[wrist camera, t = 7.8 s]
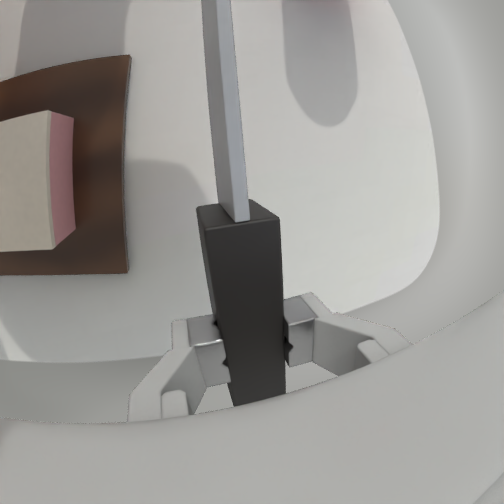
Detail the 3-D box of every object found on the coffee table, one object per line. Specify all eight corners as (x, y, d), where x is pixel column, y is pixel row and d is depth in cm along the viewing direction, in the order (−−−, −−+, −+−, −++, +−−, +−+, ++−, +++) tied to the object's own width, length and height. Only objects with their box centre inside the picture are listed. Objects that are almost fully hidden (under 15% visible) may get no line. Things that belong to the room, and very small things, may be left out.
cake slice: (24, 127, 15) (-8, 124, 11) (74, 117, 17) (48, 109, 12) (28, 232, 18) (-1, 252, 14) (76, 229, 20) (52, 249, 15)
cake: (-29, 96, 13) (-65, 91, 7) (131, 58, 17) (118, 29, 12) (-20, 271, 18) (-51, 298, 13) (129, 269, 23) (117, 303, 17)
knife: (265, 366, 13) (286, 411, 10) (225, 375, 13) (238, 423, 10) (231, -20, 7) (251, -62, 4) (179, -18, 6) (183, -63, 4)
